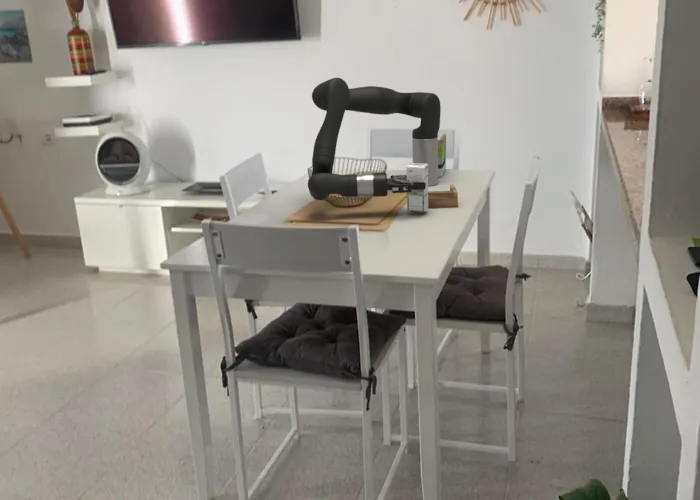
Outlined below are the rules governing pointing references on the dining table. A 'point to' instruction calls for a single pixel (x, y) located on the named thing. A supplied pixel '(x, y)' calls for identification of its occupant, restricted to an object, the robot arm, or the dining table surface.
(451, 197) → the walnut tray
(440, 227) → the dining table surface
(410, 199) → the syrup box
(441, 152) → the tea box
